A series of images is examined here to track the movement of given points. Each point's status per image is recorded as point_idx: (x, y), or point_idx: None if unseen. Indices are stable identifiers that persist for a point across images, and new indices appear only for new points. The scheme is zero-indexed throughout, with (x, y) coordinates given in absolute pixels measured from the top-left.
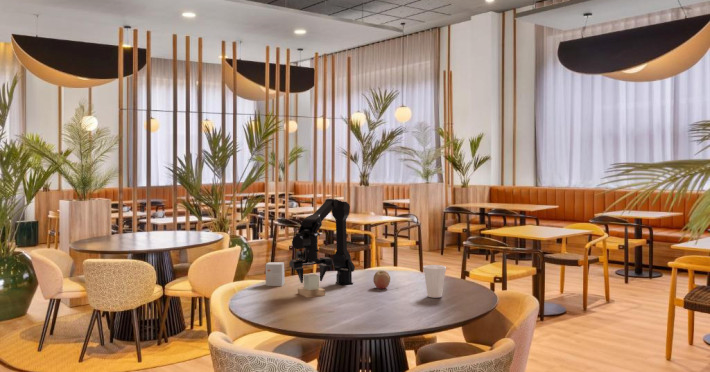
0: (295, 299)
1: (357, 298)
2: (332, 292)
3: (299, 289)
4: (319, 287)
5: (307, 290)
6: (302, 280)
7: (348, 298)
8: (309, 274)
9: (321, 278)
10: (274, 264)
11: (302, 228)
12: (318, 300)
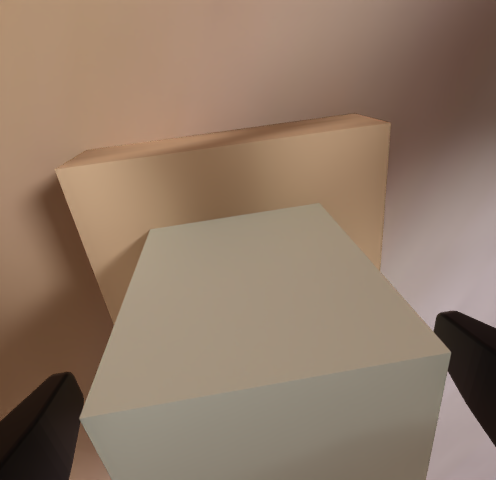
0: (34, 387)
1: (482, 450)
2: (478, 232)
3: (81, 229)
4: (377, 245)
5: None
6: (58, 468)
7: (437, 441)
8: (283, 403)
9: (463, 396)
10: None
11: None
12: None
